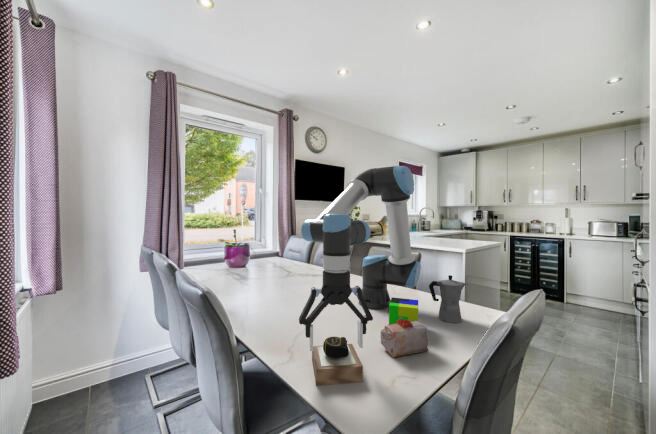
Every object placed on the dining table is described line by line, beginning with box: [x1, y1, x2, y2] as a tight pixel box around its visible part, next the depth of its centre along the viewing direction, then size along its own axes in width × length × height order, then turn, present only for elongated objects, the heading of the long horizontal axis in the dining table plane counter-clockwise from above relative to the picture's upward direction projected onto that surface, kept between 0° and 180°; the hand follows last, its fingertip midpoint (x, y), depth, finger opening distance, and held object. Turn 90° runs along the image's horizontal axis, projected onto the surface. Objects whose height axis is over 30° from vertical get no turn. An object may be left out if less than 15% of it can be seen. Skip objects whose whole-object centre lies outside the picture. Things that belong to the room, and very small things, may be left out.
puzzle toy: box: [388, 297, 419, 325], centre depth 101 cm, size 10×10×10 cm
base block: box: [311, 343, 364, 386], centre depth 74 cm, size 12×12×4 cm
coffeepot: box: [428, 274, 467, 324], centre depth 111 cm, size 15×9×18 cm, turn 92°
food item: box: [380, 317, 429, 358], centre depth 85 cm, size 14×8×10 cm, turn 109°
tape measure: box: [322, 336, 349, 358], centre depth 74 cm, size 7×7×4 cm
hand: (335, 347), depth 74 cm, fingers open, 13 cm apart
